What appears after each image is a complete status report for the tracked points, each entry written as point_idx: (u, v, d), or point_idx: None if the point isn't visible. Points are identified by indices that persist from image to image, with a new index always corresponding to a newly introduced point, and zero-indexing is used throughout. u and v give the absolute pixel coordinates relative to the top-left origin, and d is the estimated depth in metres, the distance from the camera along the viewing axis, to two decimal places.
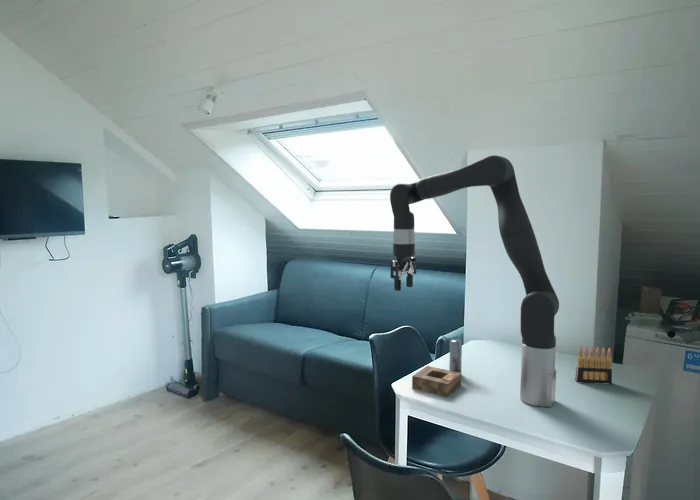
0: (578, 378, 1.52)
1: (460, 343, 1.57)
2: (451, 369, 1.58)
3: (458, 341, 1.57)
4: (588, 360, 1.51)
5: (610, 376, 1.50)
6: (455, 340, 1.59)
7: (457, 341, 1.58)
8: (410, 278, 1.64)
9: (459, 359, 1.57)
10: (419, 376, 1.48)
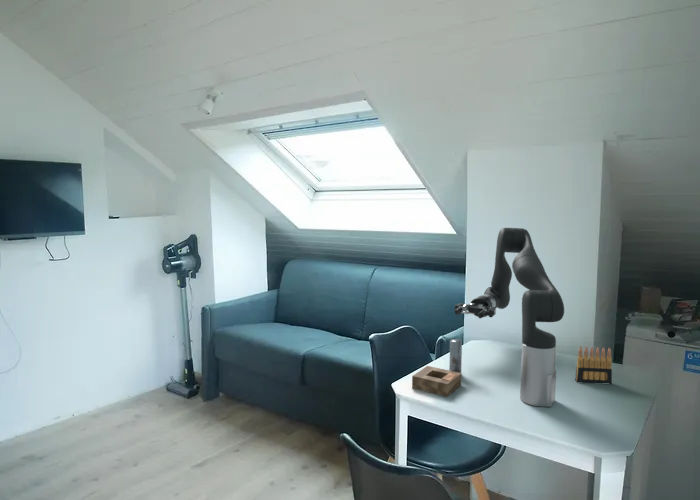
0: (578, 378, 1.52)
1: (460, 343, 1.57)
2: (451, 369, 1.58)
3: (458, 341, 1.57)
4: (588, 360, 1.51)
5: (610, 376, 1.50)
6: (455, 340, 1.59)
7: (457, 341, 1.58)
8: None
9: (459, 359, 1.57)
10: (419, 376, 1.48)
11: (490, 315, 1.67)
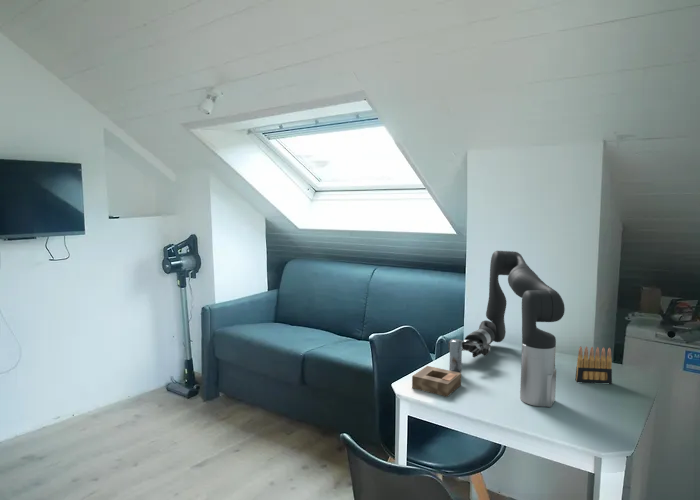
0: (578, 378, 1.52)
1: (460, 343, 1.57)
2: (451, 369, 1.58)
3: (458, 341, 1.57)
4: (588, 360, 1.51)
5: (610, 376, 1.50)
6: (455, 340, 1.59)
7: (457, 341, 1.58)
8: None
9: (459, 359, 1.57)
10: (419, 376, 1.48)
11: (484, 353, 1.63)
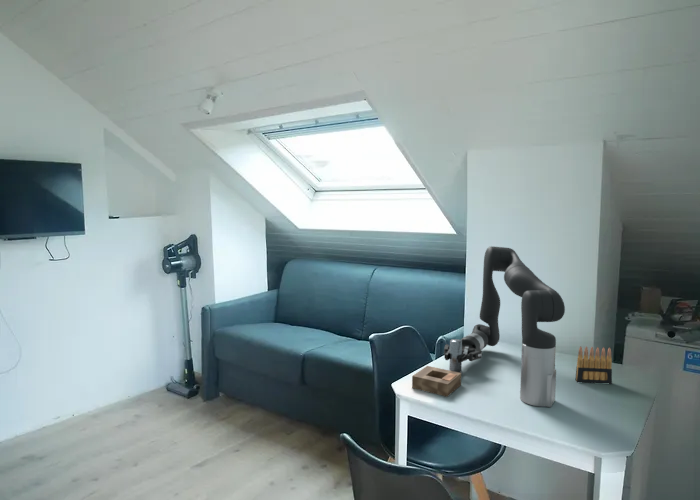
0: (578, 378, 1.52)
1: (460, 343, 1.57)
2: (451, 369, 1.58)
3: (458, 341, 1.57)
4: (588, 360, 1.51)
5: (610, 376, 1.50)
6: (455, 340, 1.59)
7: (457, 341, 1.58)
8: None
9: None
10: (419, 376, 1.48)
11: (470, 359, 1.58)
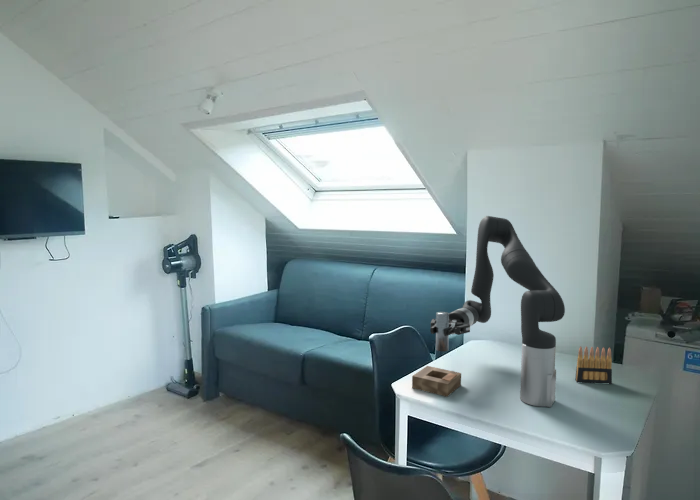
0: (578, 378, 1.52)
1: (447, 315, 1.48)
2: (437, 343, 1.49)
3: (445, 313, 1.49)
4: (588, 360, 1.51)
5: (610, 376, 1.50)
6: (442, 313, 1.50)
7: (444, 313, 1.49)
8: None
9: None
10: (419, 376, 1.48)
11: (457, 332, 1.49)
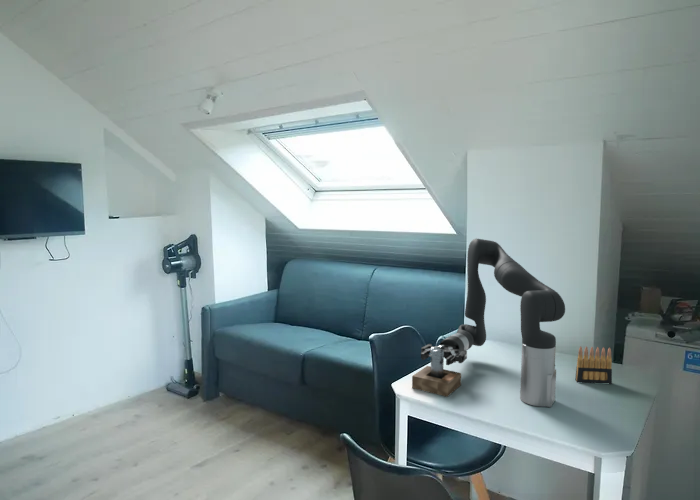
0: (578, 378, 1.52)
1: (442, 353, 1.47)
2: None
3: (439, 351, 1.47)
4: (588, 360, 1.51)
5: (610, 376, 1.50)
6: (436, 349, 1.49)
7: (439, 350, 1.48)
8: None
9: (441, 370, 1.47)
10: (419, 376, 1.48)
11: (460, 361, 1.47)
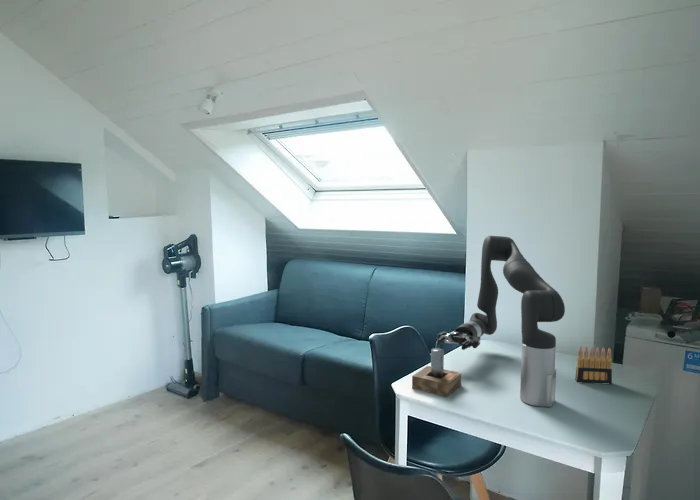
0: (578, 378, 1.52)
1: (442, 353, 1.47)
2: None
3: (440, 350, 1.48)
4: (588, 360, 1.51)
5: (610, 376, 1.50)
6: (437, 349, 1.49)
7: (439, 350, 1.48)
8: None
9: (441, 370, 1.47)
10: (419, 376, 1.48)
11: (474, 346, 1.57)
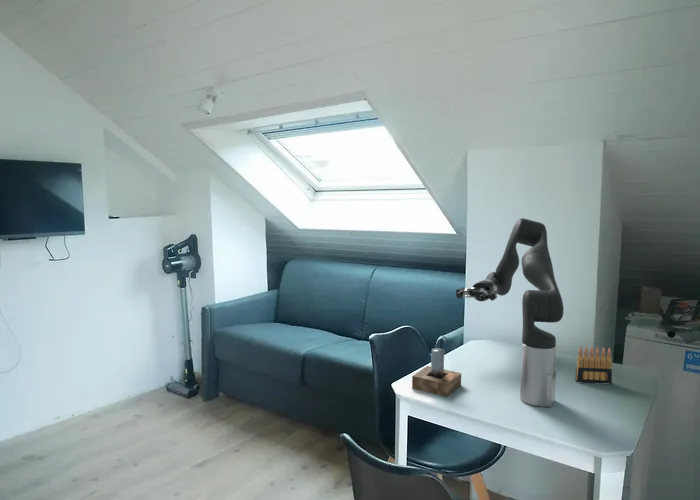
0: (578, 378, 1.52)
1: (442, 353, 1.47)
2: None
3: (440, 351, 1.47)
4: (588, 360, 1.51)
5: (610, 376, 1.50)
6: (437, 350, 1.48)
7: (440, 350, 1.48)
8: None
9: (441, 370, 1.47)
10: (419, 376, 1.48)
11: (491, 298, 1.67)
